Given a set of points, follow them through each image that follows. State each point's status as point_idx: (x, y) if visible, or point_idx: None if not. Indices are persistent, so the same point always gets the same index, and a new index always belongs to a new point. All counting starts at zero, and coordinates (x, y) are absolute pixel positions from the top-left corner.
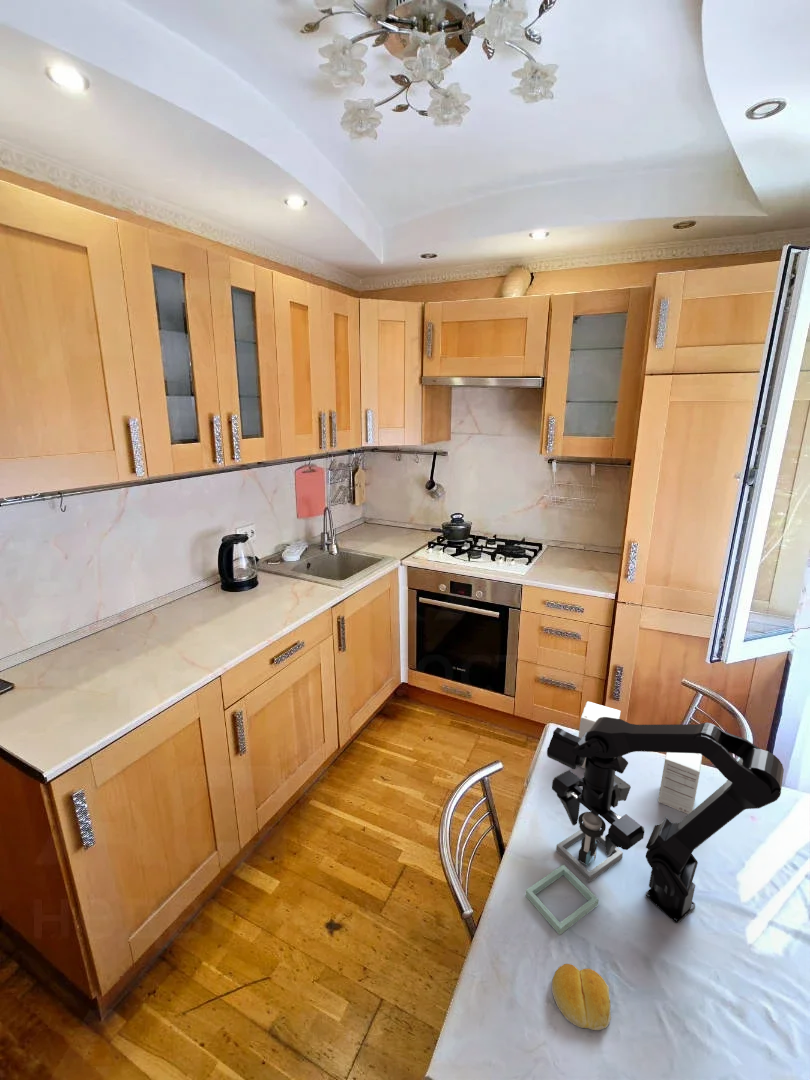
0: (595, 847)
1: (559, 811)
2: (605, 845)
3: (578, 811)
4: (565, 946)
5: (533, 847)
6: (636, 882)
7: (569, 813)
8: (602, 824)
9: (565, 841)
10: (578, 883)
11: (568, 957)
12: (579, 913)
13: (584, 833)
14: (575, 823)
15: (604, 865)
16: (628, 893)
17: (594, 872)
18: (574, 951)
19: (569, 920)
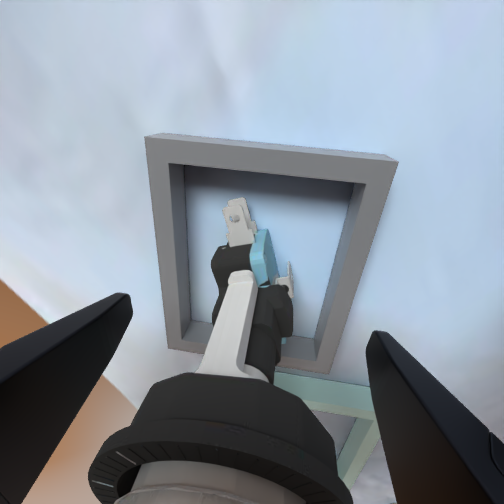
0: (290, 328)
1: (18, 160)
2: (397, 497)
3: (53, 352)
4: (364, 480)
5: (137, 360)
6: (492, 226)
7: (56, 446)
8: (300, 490)
9: (172, 316)
10: (313, 408)
11: (380, 489)
12: (363, 461)
13: (177, 202)
14: (125, 309)
15: (349, 302)
16: (468, 296)
17: (333, 354)
18: (385, 479)
19: (352, 481)
